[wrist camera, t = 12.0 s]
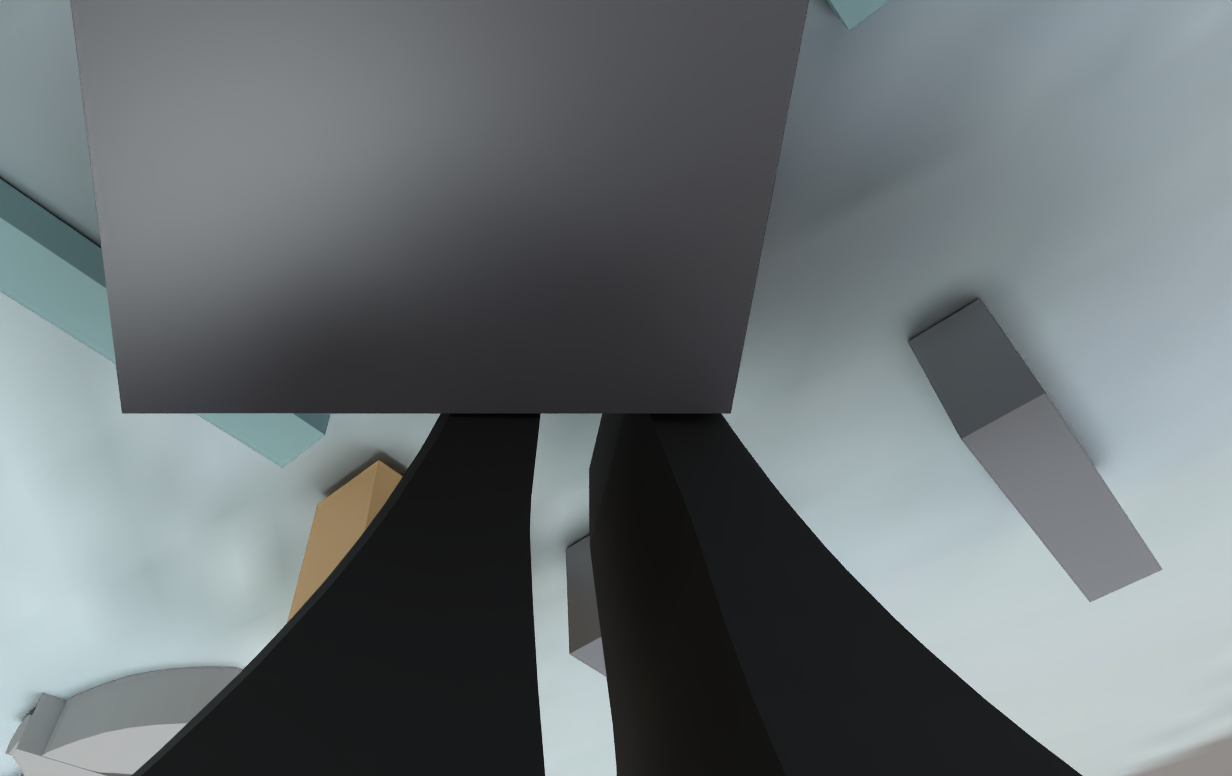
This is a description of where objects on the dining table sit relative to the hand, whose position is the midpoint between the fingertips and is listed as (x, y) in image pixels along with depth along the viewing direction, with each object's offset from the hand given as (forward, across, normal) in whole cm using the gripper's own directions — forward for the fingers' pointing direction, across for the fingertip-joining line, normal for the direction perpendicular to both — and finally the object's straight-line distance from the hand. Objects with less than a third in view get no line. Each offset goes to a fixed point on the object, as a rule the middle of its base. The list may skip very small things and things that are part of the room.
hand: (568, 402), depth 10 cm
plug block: (+2, +2, -3) cm, 4 cm away
